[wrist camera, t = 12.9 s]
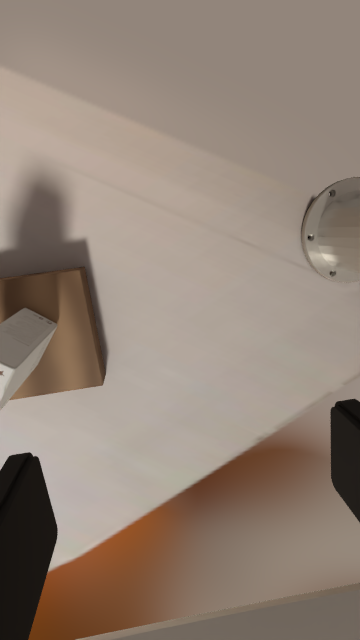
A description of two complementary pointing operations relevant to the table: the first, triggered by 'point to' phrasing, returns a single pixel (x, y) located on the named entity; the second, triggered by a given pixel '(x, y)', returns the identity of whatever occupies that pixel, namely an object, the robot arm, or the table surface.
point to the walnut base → (58, 330)
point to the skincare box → (21, 349)
